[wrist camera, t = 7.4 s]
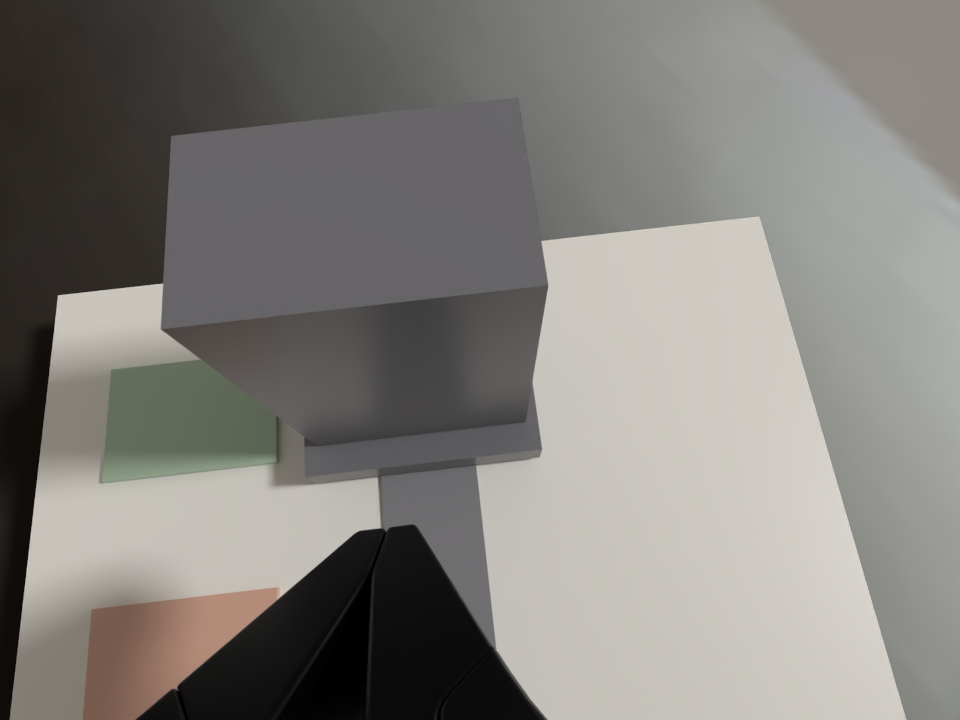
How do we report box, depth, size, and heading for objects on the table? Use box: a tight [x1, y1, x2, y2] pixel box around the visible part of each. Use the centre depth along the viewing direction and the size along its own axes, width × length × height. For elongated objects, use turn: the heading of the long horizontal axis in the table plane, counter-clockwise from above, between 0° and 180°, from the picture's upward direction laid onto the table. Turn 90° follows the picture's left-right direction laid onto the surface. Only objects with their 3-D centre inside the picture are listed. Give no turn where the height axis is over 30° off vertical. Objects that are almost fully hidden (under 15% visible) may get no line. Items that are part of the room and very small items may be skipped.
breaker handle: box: [161, 98, 548, 483], centre depth 13 cm, size 4×6×8 cm
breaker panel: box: [10, 217, 906, 720], centre depth 17 cm, size 14×20×2 cm
